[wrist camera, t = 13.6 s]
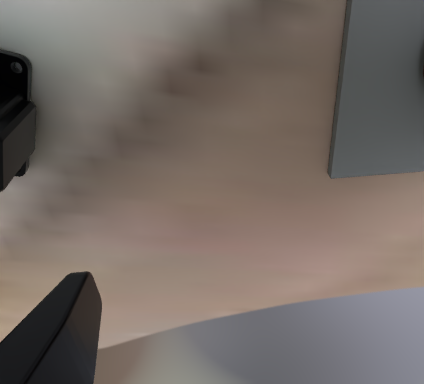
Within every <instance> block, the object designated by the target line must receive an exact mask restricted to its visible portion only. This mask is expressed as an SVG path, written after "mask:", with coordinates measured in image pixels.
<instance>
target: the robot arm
mask: <svg viewBox="0 0 424 384" xmlns="http://www.w3.org/2000/svg"><path fill="white" fill-rule="evenodd" d="M14 62H17V63H19V64H20V65H21V66H22V71H19V70H17V69H16V68H15V66H14ZM30 92H31V65H30V62H29V61H28V59H27V58H25V57H24V56H22V55H20V54H16V53H12V52H8V51H4V50H1V49H0V192H1V191H3V190H4V189H5V188H6V187H7V185H8V184H9V183H10V181H11V180H12V179H13V177H14V176H18V177H20V176H23V175H24V174H25V173H26V171H27V170H28V167H29V156H30V155H31V154H32V152H33V151H34V149H35V125H36V106H35V105H34V103H33V102H32V101H30ZM20 168H21V169H20ZM101 312H102V301H101V297H100V294H99V292H98V289H97V286H96V283H95V281H94V278H93V276H92V274H91V273H90V272H76V273H70V274H68V275H67V276H66V277H65V278H64V279H63V280H62V281H61V282H60V283H59V284H58V285H57V286H56V287H55V288H54V289H53V290H52V291H51V292H50V293H49V294H48V295H47V296H46V297H45V298H44V299H43V300H42V301H41V302H40V303H39V304H38V305H37V306H36V307H35V308H34V309H33V310H32V311H31V312H30V313H29V314H28V315H27V316H26V317H25V318H24V319H23V320H22V321H21V322H20V323H19V324H18V325H17V326H16V327H15V328H14V329H13V330H12V331H11V332H10V333H9V334H8V335H7V336H6V337H5V338H4V339H3V340H2V341H1V342H0V384H93V382H94V375H95V366H96V358H97V349H98V340H99V331H100V321H101Z"/></svg>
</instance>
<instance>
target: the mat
mask: <svg viewBox="0 0 424 384" xmlns="http://www.w3.org/2000/svg"><path fill="white" fill-rule="evenodd" d="M423 68H424V0H347V9H346V17H345V26H344V35H343V44H342V52H341V61H340V70H339V79H338V88H337V96H336V105H335V114H334V123H333V131H332V140H331V149H330V158H329V167H328V174H329V176H330V178H331V179H332V178H345V177H357V176H370V175H383V174H395V173H408V172H420V171H424V77H423Z"/></svg>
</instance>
